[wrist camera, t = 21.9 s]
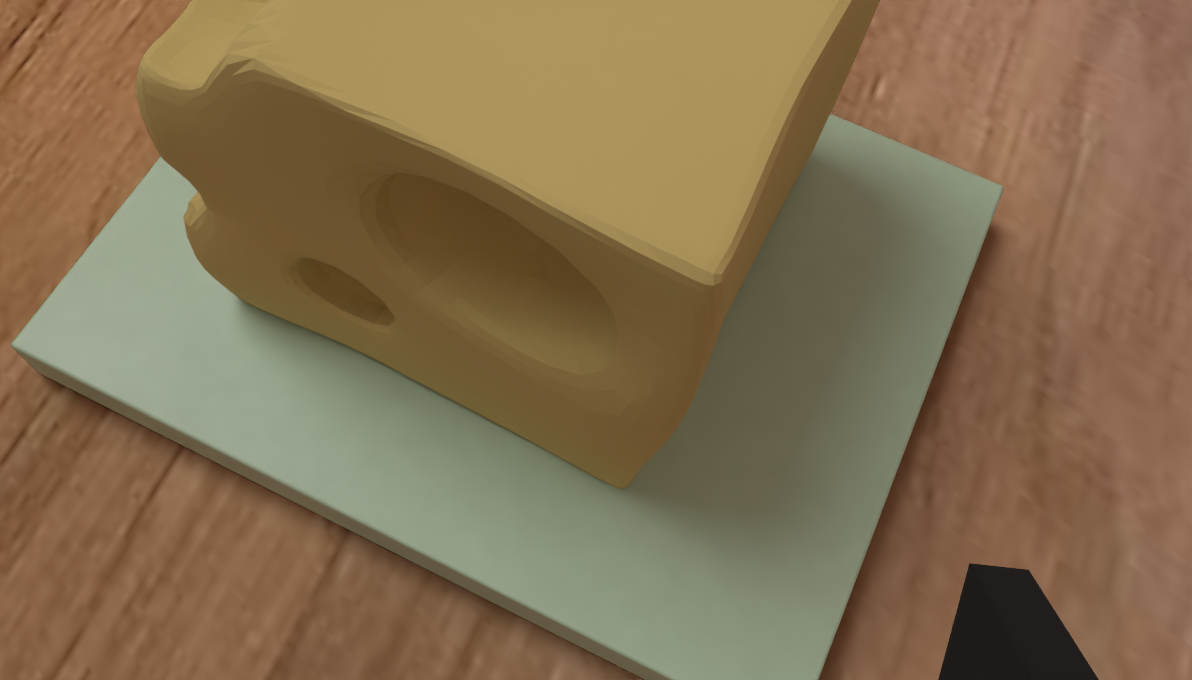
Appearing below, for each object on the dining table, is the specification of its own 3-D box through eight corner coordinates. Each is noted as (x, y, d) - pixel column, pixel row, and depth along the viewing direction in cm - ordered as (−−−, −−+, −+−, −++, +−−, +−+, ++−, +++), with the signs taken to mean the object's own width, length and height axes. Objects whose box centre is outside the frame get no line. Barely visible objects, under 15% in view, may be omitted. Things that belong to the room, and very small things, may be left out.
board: (37, 372, 24) (7, 345, 23) (361, -46, 30) (353, -88, 28) (778, 747, 22) (795, 742, 21) (981, 217, 27) (1005, 185, 26)
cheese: (216, 301, 24) (23, -32, 15) (468, -27, 28) (441, -444, 19) (642, 526, 22) (724, 312, 13) (841, 143, 26) (1008, -221, 17)
